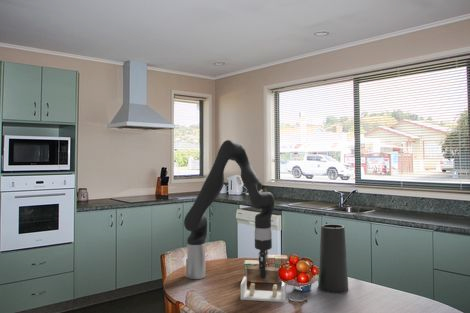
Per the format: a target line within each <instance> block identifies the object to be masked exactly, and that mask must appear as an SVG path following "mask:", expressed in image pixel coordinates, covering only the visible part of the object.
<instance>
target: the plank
mask: <svg viewBox="0 0 470 313" xmlns="http://www.w3.org/2000/svg"><path fill="white" fill-rule="evenodd" d="M278 270H279V268H272V267H266V270H265V272H266V277H265V278H260V269H259V266H249V267H248V268H247V280H254V281H265V282H275V283H274V284H280V283H279V281H280V278H279V273H278ZM265 282H264V283H265Z"/></svg>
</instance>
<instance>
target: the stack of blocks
mask: <svg viewBox="0 0 470 313" xmlns="http://www.w3.org/2000/svg"><path fill="white" fill-rule="evenodd" d="M286 263H288V255H284V254H268V262H267V267H272V268H279V267H280V266H281V265H282V264H286ZM249 266H259V260H255V259H254V260H251V259H250V260H247V259H246V260H244V263H243V267H244V270H243V272H244V274H243V275H244V276H243V278H244V277H247V268H248V267H249ZM262 266H263V265H261V267H262ZM247 283H269V284H270V283H273V284H276V283H275V282H265V281H254V280H247ZM278 284H282V282H281V281H279V283H278Z"/></svg>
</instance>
